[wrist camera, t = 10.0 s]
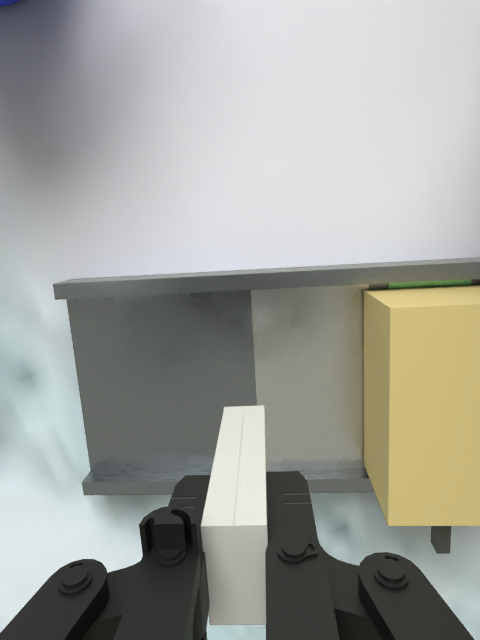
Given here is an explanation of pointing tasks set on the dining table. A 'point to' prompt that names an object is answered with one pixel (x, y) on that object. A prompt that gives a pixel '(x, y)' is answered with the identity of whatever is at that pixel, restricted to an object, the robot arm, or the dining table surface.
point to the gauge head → (423, 406)
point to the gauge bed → (230, 367)
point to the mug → (7, 2)
